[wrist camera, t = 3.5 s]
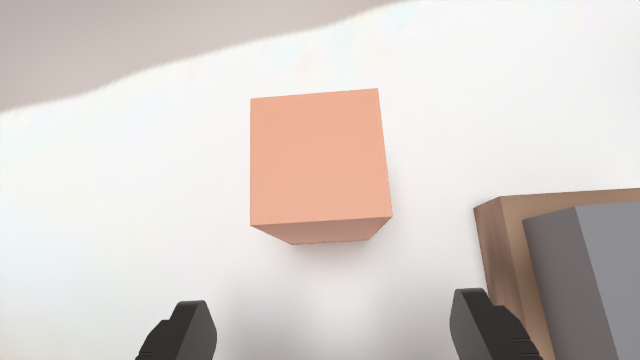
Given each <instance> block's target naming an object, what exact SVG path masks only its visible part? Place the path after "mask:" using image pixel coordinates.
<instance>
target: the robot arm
mask: <svg viewBox="0 0 640 360" xmlns="http://www.w3.org/2000/svg"><path fill="white" fill-rule="evenodd" d="M450 331H451V336H452V340H453V343H454V345H455V348H456V351H457V353H458V356H459V359H460V360H544V359H543V358H542V357H541V356H540V354H539V351H538V350H537V348H536V346H535V345H534V343H533V342H532V341H531V339H530V336H529V335H528V333H527V331H526V330H525V328H524V326H523V325H522V323H521V321H520V320H519V319H518V318H517V317H516V316H515V315H514V314H512V313H511V312H510V311H509V310H508V309H507V308H506V307H505V306H504V305H502V306H493V304H492V303H491V301H490V299H489V297H488V295H487V293H486V292H485V291H484V289H482V288H466V289H456V290H455V293H454V298H453V304H452V310H451V315H450ZM216 343H217V332H216V328H215V325H214V323H213V320H212V317H211V315H210V312H209V309H208V307H207V304H206V302H205V301H203V300H201V301H181V302H179V303H178V304H177V305H176V307H175V309H174V311H173V313H172V315H171V317H170V319H169V320H161V322H160V323H159V324H158V325H157V326H156V327H155V328H154V329H153V330H152V331H151V332H150V333H149V334H148V336H147V338H146V340H145V342H144V344H143V345H142V347H141V349H140V351H139V355H138V356H137V357H136V359H135V360H212V358H213V355H214V352H215V348H216Z"/></svg>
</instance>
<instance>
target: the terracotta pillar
mask: <svg viewBox="0 0 640 360" xmlns="http://www.w3.org/2000/svg"><path fill="white" fill-rule="evenodd" d="M391 217H392V207H391V199H390V190H389V181H388V172H387V164H386V155H385V146H384V138H383V129H382V120H381V111H380V103H379V94H378V88H375V89H363V90H351V91H339V92H326V93H314V94H302V95H289V96H277V97H265V98H252V99H251V106H250V226H253V227H255V228H257V229H259V230H261V231H263V232H265V233H268V234H270V235H272V236H274V237H276V238H278V239H281V240H283V241H285V242H287V243H289V244H291V245H294V244H311V243H327V242H344V241H360V240H369V239H370V238H371V237H372V236H373V235H374V234H375V233H376V232H377V231H378V230H379V229H380V228H381V227H382V226H383V225H384V224H385V223H386V222H387V221H388V220H389V219H390V218H391Z"/></svg>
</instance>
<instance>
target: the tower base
mask: <svg viewBox="0 0 640 360" xmlns="http://www.w3.org/2000/svg"><path fill="white" fill-rule="evenodd" d="M632 201H640V188H631V189H614V190H597V191H580V192H564V193H547V194H530V195H513V196H499V197H497V198H495V199H493V200H491V201H488V202H486V203H484V204H482V205H479V206H477V207H475V208H473V209H474V215H475V220H476V226H477V231H478V237H479V243H480V248H481V254H482V260H483V265H484V271H485V276H486V282H487V288H488V293H489V299H490V301H491V303H492V304H493V306H502V305H504V306H505V307H506V308H507V309H508V310H509V311H510V312H511V313H512V314H514V315H515V316H516V317H517V318H518V319H519V320H520V321H521V323H522V325H523V326H524V328H525V330H526V331H527V333H528V335H529V336H530V339H531V341H532V342H533V343H534V345H535V346H536V348H537V350H538V351H539V354H540V356H541V357H542V358H543V359H544V360H555V356H554V351H553V347H552V343H551V339H550V335H549V331H548V327H547V322H546V318H545V314H544V310H543V306H542V302H541V298H540V294H539V289H538V285H537V281H536V277H535V273H534V269H533V265H532V260H531V256H530V252H529V248H528V244H527V240H526V236H525V232H524V227H523V223H522V220H524V219H528V218H531V217H535V216H539V215H543V214H547V213H551V212H554V211H558V210H562V209H566V208H570V207H574V206H584V205H596V204H608V203H620V202H632Z"/></svg>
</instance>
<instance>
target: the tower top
mask: <svg viewBox="0 0 640 360" xmlns="http://www.w3.org/2000/svg"><path fill="white" fill-rule="evenodd" d="M522 223H523V227H524V232H525V236H526V240H527V244H528V248H529V252H530V256H531V260H532V265H533V269H534V273H535V277H536V281H537V285H538V289H539V294H540V298H541V302H542V306H543V310H544V314H545V318H546V322H547V327H548V331H549V335H550V339H551V343H552V347H553V351H554V356H555V360H640V201H632V202H620V203H608V204H596V205H584V206H574V207H570V208H566V209H562V210H558V211H554V212H551V213H547V214H543V215H539V216H535V217H531V218H528V219H524V220H522Z"/></svg>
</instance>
